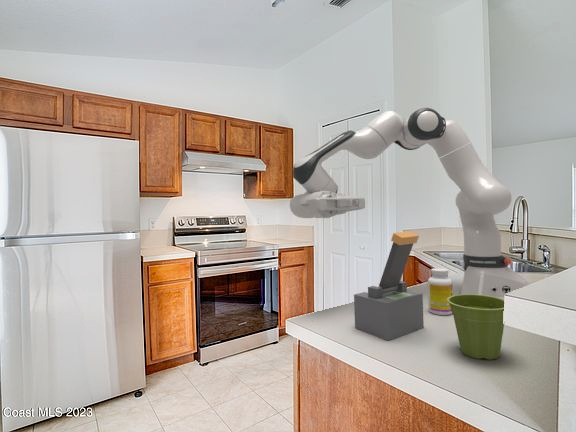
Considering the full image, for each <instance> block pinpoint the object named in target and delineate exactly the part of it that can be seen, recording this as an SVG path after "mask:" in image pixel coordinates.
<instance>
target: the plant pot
mask: <svg viewBox="0 0 576 432" xmlns="http://www.w3.org/2000/svg"><path fill="white" fill-rule="evenodd" d="M447 302H448V303H450V307H451V311H452V316H453V319H454V325H455V329H456V334H457V339H458V344H459V349H460V350H461V352H462V353H463V354H464V355H466V356H468V357H471V358H472V359H473V358H474V359H479V360H480V359H486V360H496V359H499V357H500V355H501V350H502V341H503V335H504V328H505V323H504V324H503V311H504V299H501V298H498V297H493V296H487V295H478V294H461V293H459V294H453V296H450V297H448V298H447Z"/></svg>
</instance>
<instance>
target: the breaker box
mask: <svg viewBox="0 0 576 432" xmlns="http://www.w3.org/2000/svg"><path fill="white" fill-rule="evenodd" d="M407 284H408V282H407V281H401V280H400V283H399V286H398V290H396V291H392V292H388V293H384V294H382V288H380V287H379V286H377V285H375V286H374V285H372V286H367V291H363V292H358V293H355V294H353V304H354V305H353V306H354V308H353V309H354V328H355V329H357V330H359V331H362V332H365V333H366V334H369V335H372V336H375V337H377V338H380V339H383V340H385V341H389V342H390V341H392V340H395V339H397V338H400V337H402V336H405V335H407V334H411V333H414V332H416V331H419V330H422V329H424V328H425V326H424V325H425V324H424V322H425V321H424V294H423V293H422V292H417V291H412V290H408V285H407Z"/></svg>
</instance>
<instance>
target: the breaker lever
mask: <svg viewBox="0 0 576 432" xmlns="http://www.w3.org/2000/svg"><path fill="white" fill-rule="evenodd" d="M419 237H420V235H418V234H417V233H414V232H413V231H401V232H394V233H392V236H391V240H390V241H391V242H392V245H391V249H390V251H389V254H388V258H387V259H386V264H385V267H384V269H383V272H382V275H381V278H380V281H379V284H378V287H380V288H382V294H384V293H388V292H392V291H396V290H398V286H399V283H400V281H401V279H402V277H403V274H404V271H405V268H406V266H407V262H408V259H409V257H410V254H411V251H412V250H413V246H414V244H417V243H418V239H419Z"/></svg>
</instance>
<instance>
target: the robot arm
mask: <svg viewBox="0 0 576 432" xmlns="http://www.w3.org/2000/svg"><path fill="white" fill-rule="evenodd" d="M393 143H394V144H395V145H396V144H397V145H398V146H399V147H400V148H402V149H404V150H406V151H407V150H408V151H414V150H417V149H419V148H421V147H423V146H425V145H426V144H427V145H428V146H430V147H431V148H432V149H433V150H434V151H435V153H436V156H437V157H438V158H439V161H440V163H441V164H442V166H443V169H444V170H445V172H446V174H447V176H448V178H449V179H450V180H451V181H452V182H454V184H455V185H456V186H457V187H458V189H460V190H459V192H458V193H457V194H456V197H455V205H456V207H457V209H458V213H459V218H460V222H461V226H462V231H463V247H464V249H463V251H464V253H463V255H462V268H463V280H462V285H461V289H460V293H459V294H478V295H487V296H493V297H498V298H501V299H504V295H505V294H506V293H508V292H511V291H513V290H516V289H519V288H522V287H524V286H527V285H529V282H528V280H527V279H526V278H524V277H523V276H522V275H520V274H519V273H518V272H516V271H515V270H514V269H512V268H511V267H509V266H511V264H512V262H513V260H512V259H511V258H509V257H506V256H504V255H502V241H501V239H502V238H501V237H502V236H501V235H502V234H501V231H500V229H499V228H498V226H497V224H496V221H495V220H496V219H495V218H494V216H495V215H498V214H500V213H503V212H504V211H506V210H507V209H508V208H509V207H510V205H511V203H512V194H511V191H510V189H508V187H507V186H505V185H503V184H502V183H501V182H499V181H498V180H497V178H496V177H495V176H494V175H493V174H492V173H491V172H490V171H489V169H488V168H487V167H486V165H485V164H484V163H483V161H482V160H481V157H479V155H478V152H477V150H476V149H475V148H474V146H473V144H472V142H471V140H470V137H469V136H468V135H467V134H466V132H465V131H464V129H463V128H462V126H461V125H460V124H458V122H457V121H455V120H452V119H447V120H446V119H445V117H442V116H441V114H440V113H439V112H438V111H436V110H435V109H433V108H430V107H422V108H419V109H417V110H415V111H414V112H412V113H411V114H410V115H409V116H408V117H407V118H405V117H404V118H403V117H402V116H401V115H400V114H398V113H397V112H396V111H394V110H393V111H392V110H386V111H384V112H382V113H380V114H379V115H377V116H376V117H375V118H374V119H372V120H370V122H368V123H367V124H366V125H365V126H364V127H362V128H361V129H359V130H357V131H354V130H347V131H345V132H342V133H341V134H339V135H337V136H336V137H334V138H332V139H331V140H329V141H328V142H326V143H325V144H323V145H322V146H320V147H319V148H318V149H316V150H314V151H313V152H311V153H309V154H307V155H306V156H304V157H301V158H299V160H297V161H296V162H295V163H294V165H293V167H292V177H293V179H294V180H295V181H296V182H297V183H298V184H300V186H302V188H304V189H305V192H304V193H300V194H297V195H295V196H293V197H292V198H290V201H289V208H290V211H291V213H292V214H293V215H294V216H296V217H297V218H302V219H313V218H315V219H330V218H333V217H335V216H337V215H343V214H346V213H347V212H353V211H359V210H363V209H366V199H365V197H362V196H353V195H351V196H350V195H346V194H342V193H338V190H339V189H338V188H339V186H338V184H337V183H336V182H335V180H334V179H333V178H332V177H331V176H330V175H329V174H328V172H327V171H326V170H325V169H324V167H323V166H322V164H323V162H325V161H326V160H328V159H329V158H330V157H332V156H334V155H336V154H337V153H338V152H340V151H348V152H349V153H351V154H353V155H355V156H356V157H359V158H361V159H365V160H372V159H375V158H377V157H379V156H380V155H381V154H383V153H384V151H386V150H387V149H388V148H389V147H390V146H391V145H392V144H393Z"/></svg>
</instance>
